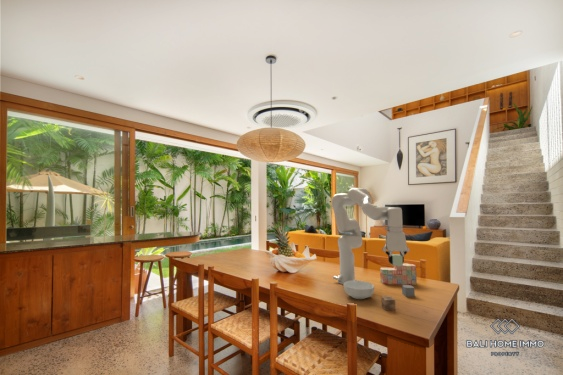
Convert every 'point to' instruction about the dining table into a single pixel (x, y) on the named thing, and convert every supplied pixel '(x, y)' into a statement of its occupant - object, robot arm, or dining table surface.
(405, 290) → the gray cube
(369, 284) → the cereal bowl
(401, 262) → the sage green cube
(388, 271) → the stack of blocks
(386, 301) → the walnut cube
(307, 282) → the dining table surface
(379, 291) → the dining table surface
